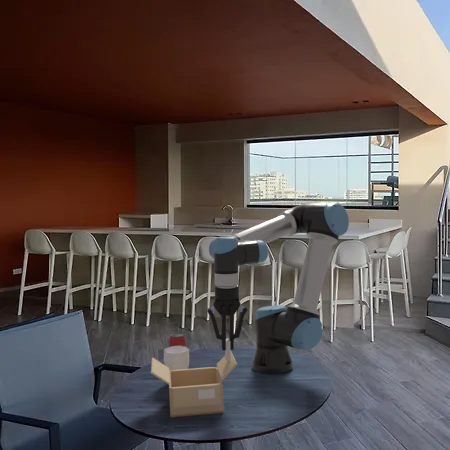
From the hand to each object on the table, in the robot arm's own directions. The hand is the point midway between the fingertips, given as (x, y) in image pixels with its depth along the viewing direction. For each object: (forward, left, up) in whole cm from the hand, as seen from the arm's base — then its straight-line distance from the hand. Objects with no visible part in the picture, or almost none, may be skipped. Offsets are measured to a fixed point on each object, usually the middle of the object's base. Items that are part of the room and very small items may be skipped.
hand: (227, 359), depth 160 cm
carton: (+11, 0, -14) cm, 17 cm away
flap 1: (+18, 0, -4) cm, 19 cm away
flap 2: (+3, 0, -4) cm, 5 cm away
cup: (+16, -20, -14) cm, 29 cm away
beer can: (+15, -39, -14) cm, 44 cm away
